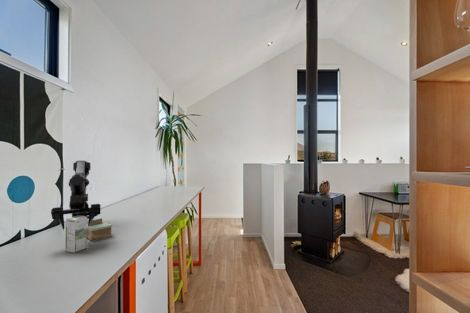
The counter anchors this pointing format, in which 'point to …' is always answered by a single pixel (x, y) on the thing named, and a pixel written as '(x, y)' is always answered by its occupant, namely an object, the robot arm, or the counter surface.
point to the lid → (98, 225)
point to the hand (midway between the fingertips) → (76, 227)
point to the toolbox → (98, 234)
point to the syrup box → (76, 234)
